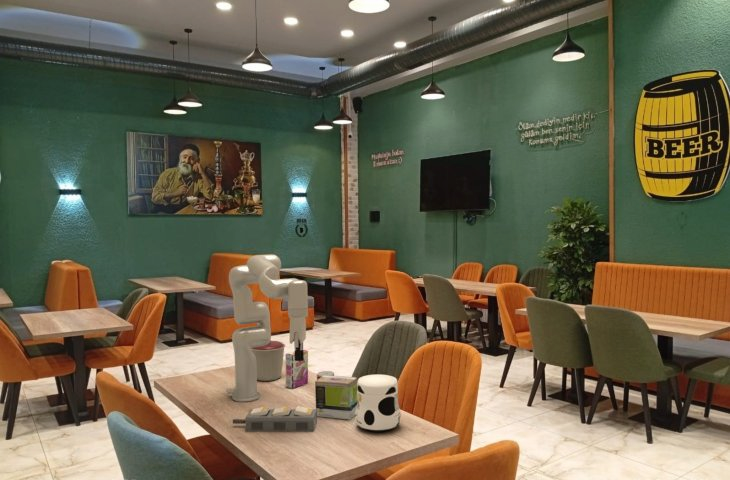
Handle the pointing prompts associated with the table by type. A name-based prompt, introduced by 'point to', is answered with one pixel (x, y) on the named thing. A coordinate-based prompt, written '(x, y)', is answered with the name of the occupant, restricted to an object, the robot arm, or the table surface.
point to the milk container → (377, 403)
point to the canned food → (324, 374)
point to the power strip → (279, 422)
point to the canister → (269, 360)
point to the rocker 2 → (282, 411)
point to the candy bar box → (296, 370)
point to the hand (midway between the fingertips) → (299, 360)
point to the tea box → (336, 396)
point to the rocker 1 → (260, 411)
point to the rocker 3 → (303, 411)
